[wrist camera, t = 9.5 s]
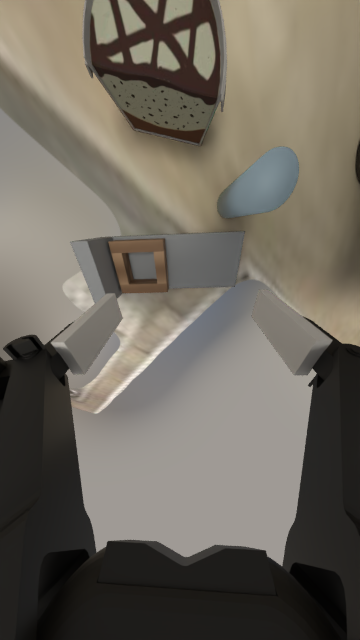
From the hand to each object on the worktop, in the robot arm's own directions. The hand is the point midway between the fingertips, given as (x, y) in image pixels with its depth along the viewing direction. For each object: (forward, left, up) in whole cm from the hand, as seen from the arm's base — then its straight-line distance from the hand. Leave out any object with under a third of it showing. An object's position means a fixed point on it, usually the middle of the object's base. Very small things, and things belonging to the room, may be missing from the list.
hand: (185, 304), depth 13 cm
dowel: (-9, +7, -19) cm, 22 cm away
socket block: (0, -8, -17) cm, 19 cm away
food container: (-19, -2, -19) cm, 27 cm away
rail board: (0, -3, -19) cm, 19 cm away
